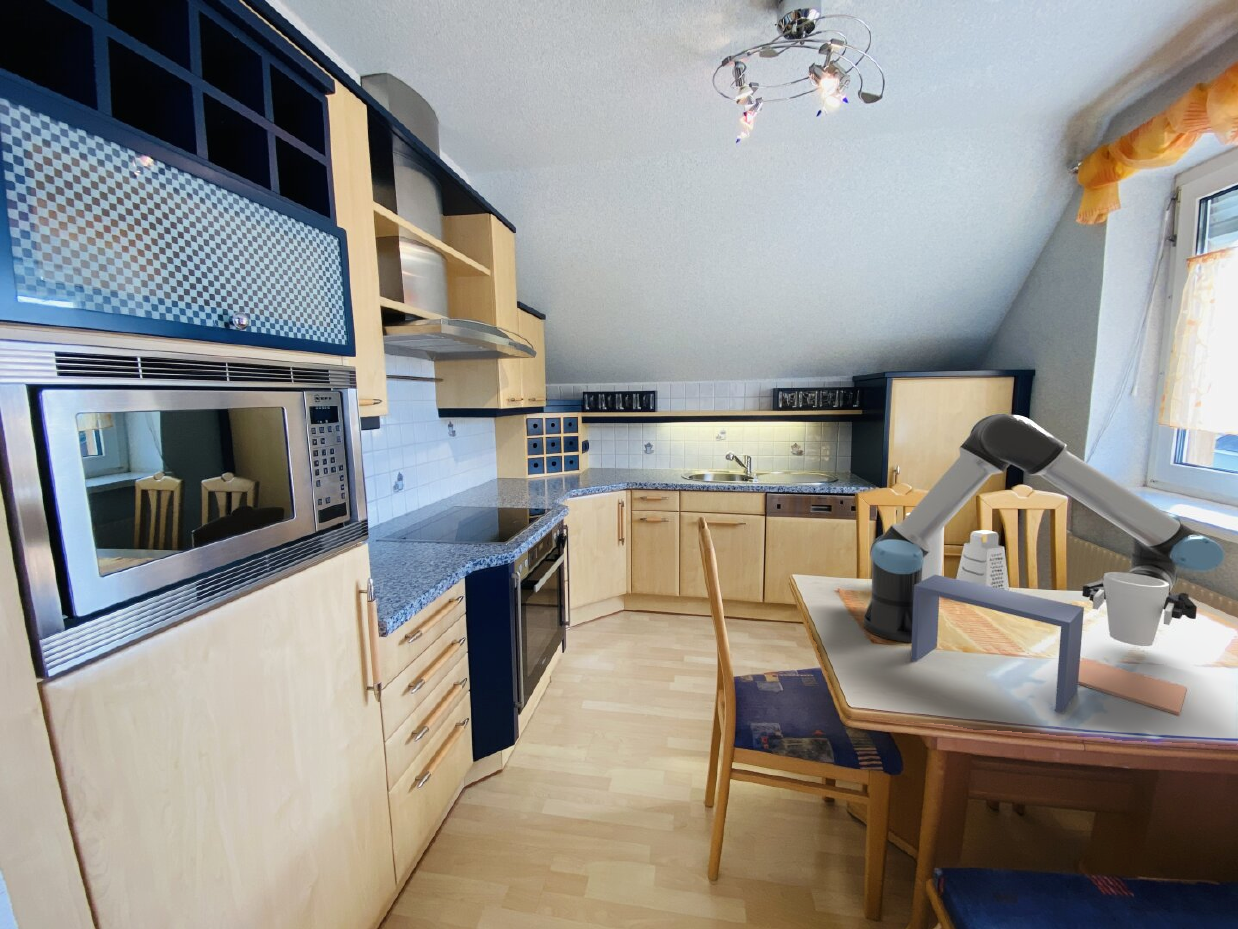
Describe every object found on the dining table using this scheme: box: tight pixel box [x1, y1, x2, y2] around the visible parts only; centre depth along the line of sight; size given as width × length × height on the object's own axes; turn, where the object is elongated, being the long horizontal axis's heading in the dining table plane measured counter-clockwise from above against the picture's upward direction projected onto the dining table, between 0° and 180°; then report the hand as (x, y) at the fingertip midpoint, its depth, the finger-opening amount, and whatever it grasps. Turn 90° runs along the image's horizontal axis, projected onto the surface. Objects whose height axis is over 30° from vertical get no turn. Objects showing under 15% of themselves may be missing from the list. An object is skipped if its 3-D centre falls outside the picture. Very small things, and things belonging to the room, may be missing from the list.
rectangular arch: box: [910, 575, 1085, 714], centre depth 109 cm, size 27×12×18 cm, turn 37°
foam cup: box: [1103, 571, 1169, 647], centre depth 103 cm, size 10×9×13 cm
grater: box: [955, 529, 1010, 591], centre depth 159 cm, size 10×10×20 cm
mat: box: [1078, 657, 1188, 716], centre depth 105 cm, size 16×14×1 cm
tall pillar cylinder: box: [905, 512, 945, 581], centre depth 162 cm, size 11×11×25 cm
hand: (1129, 610), depth 101 cm, fingers closed on foam cup, 9 cm apart
